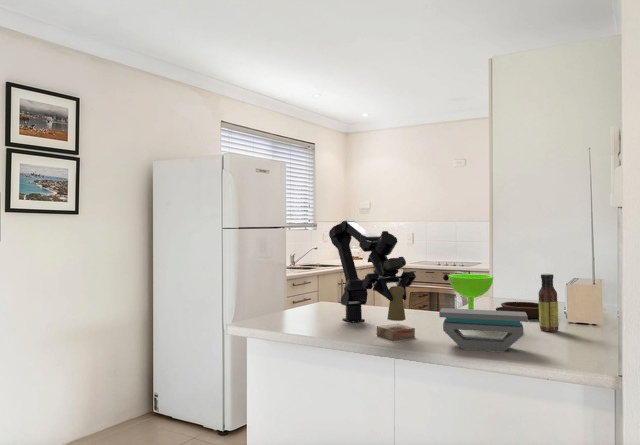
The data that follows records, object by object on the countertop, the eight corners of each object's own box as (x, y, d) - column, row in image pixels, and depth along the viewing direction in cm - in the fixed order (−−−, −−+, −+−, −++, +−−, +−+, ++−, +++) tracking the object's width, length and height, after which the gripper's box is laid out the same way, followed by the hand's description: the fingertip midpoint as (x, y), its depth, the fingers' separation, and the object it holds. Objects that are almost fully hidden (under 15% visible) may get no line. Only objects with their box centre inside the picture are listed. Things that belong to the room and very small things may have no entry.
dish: (556, 322, 200) (556, 309, 200) (495, 318, 207) (495, 306, 207) (551, 314, 217) (551, 302, 217) (495, 311, 223) (495, 300, 223)
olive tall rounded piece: (399, 321, 171) (399, 288, 171) (383, 319, 175) (384, 286, 175) (408, 318, 176) (409, 286, 176) (393, 316, 180) (393, 284, 180)
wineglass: (440, 324, 195) (440, 276, 195) (461, 318, 207) (461, 273, 207) (481, 330, 184) (481, 279, 184) (500, 323, 196) (500, 275, 196)
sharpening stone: (439, 347, 159) (439, 312, 159) (441, 342, 167) (441, 308, 167) (527, 353, 152) (527, 316, 152) (525, 347, 159) (525, 312, 159)
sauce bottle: (557, 329, 186) (557, 273, 186) (559, 333, 180) (559, 275, 180) (537, 328, 188) (537, 272, 188) (539, 331, 182) (539, 274, 182)
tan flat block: (376, 335, 177) (376, 326, 177) (397, 332, 181) (397, 323, 181) (393, 340, 169) (393, 331, 169) (415, 337, 173) (415, 328, 173)
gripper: (366, 249, 175) (383, 286, 165) (413, 248, 183) (432, 283, 173) (355, 270, 182) (371, 307, 172) (400, 268, 190) (418, 303, 180)
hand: (398, 300), depth 174 cm, fingers closed on olive tall rounded piece, 5 cm apart
